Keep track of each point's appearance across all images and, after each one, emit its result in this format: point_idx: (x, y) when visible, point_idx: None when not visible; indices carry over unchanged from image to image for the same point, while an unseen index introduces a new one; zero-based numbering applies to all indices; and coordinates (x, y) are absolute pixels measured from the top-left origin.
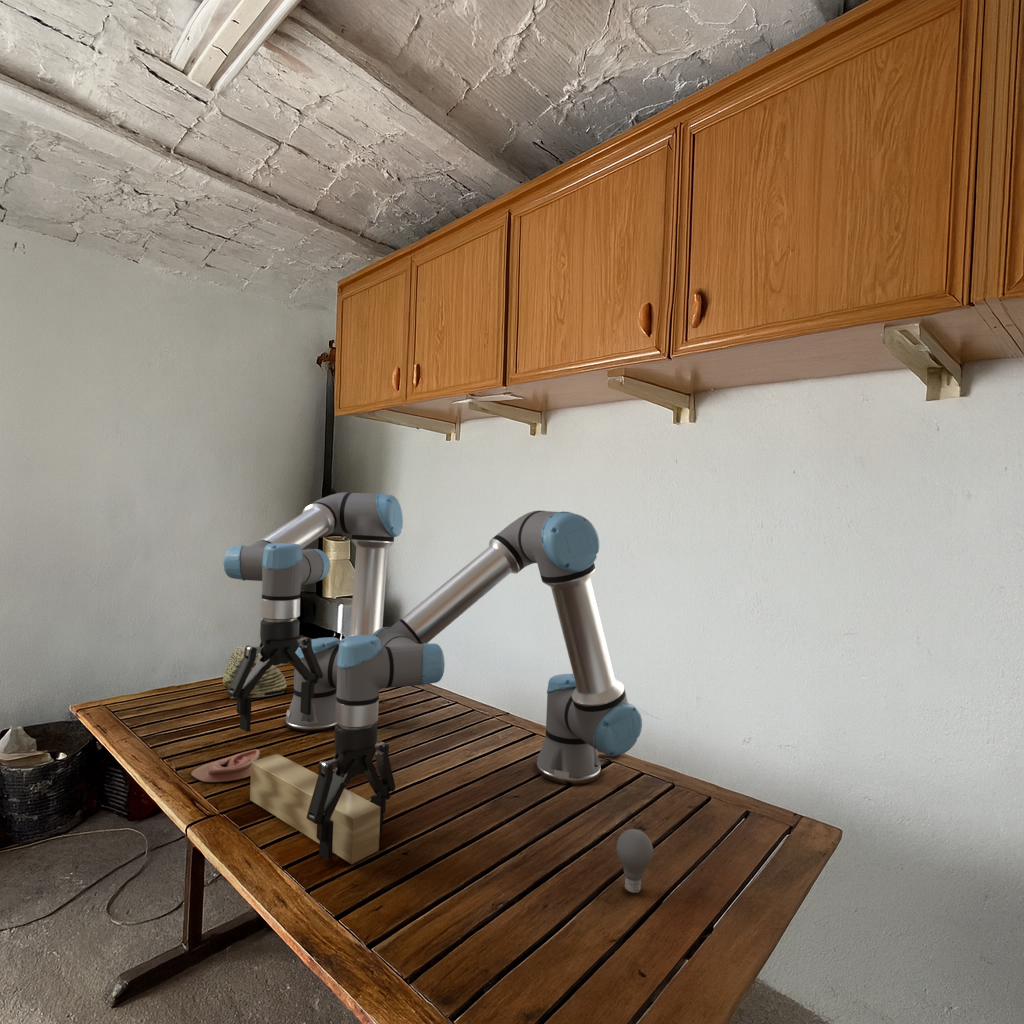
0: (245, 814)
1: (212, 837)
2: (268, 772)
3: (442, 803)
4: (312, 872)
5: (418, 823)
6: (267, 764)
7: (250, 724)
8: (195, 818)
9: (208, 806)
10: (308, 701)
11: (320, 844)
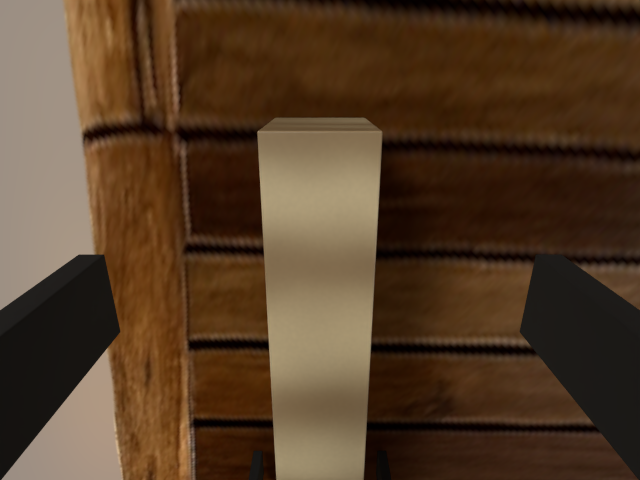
0: (227, 189)
1: (118, 237)
2: (264, 258)
3: (573, 450)
4: (226, 461)
5: (472, 469)
6: (292, 203)
7: (99, 356)
8: (110, 109)
9: (163, 62)
10: (576, 397)
11: (251, 471)
